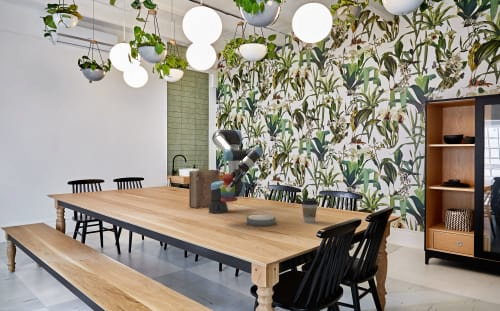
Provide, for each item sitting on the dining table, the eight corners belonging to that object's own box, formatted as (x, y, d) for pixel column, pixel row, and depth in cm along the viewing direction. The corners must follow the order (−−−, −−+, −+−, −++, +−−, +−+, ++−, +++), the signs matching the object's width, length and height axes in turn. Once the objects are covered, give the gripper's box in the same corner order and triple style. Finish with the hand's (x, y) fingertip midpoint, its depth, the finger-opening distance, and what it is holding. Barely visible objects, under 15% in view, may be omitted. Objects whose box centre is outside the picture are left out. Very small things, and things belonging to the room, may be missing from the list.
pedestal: (241, 224, 228) (241, 217, 228) (256, 218, 244) (256, 213, 244) (266, 227, 217) (266, 221, 217) (280, 222, 233) (280, 216, 233)
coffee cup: (307, 224, 228) (307, 201, 227) (297, 220, 238) (297, 199, 237) (321, 222, 233) (321, 200, 233) (311, 219, 243) (311, 197, 243)
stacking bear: (238, 200, 233) (238, 173, 232) (232, 202, 224) (232, 174, 223) (223, 199, 237) (223, 172, 236) (217, 201, 227) (217, 174, 226)
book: (196, 208, 283) (196, 171, 282) (189, 207, 289) (189, 171, 288) (219, 204, 302) (219, 170, 301) (211, 203, 308) (211, 169, 307)
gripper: (256, 170, 226) (234, 196, 220) (242, 167, 246) (221, 191, 239) (249, 162, 224) (226, 188, 217) (235, 160, 243) (214, 184, 236)
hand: (223, 189), depth 228 cm, fingers closed on stacking bear, 9 cm apart
